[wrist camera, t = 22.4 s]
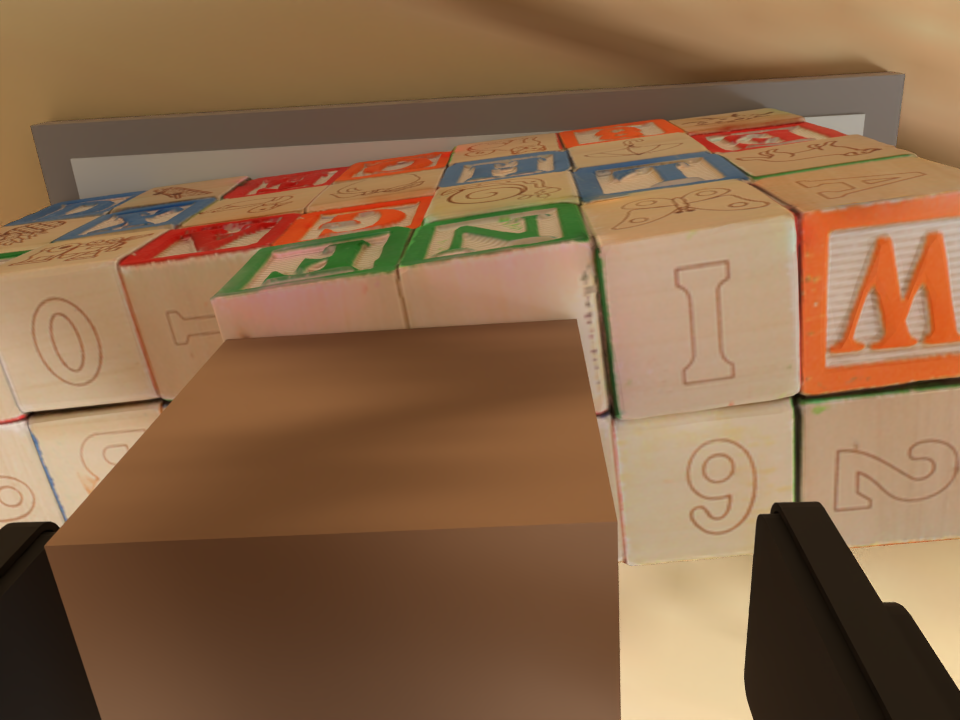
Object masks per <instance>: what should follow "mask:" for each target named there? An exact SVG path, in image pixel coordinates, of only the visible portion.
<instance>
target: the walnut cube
mask: <svg viewBox="0 0 960 720" xmlns="http://www.w3.org/2000/svg"><path fill="white" fill-rule="evenodd" d="M44 548H45V551H46V554H47V557H48V560H49V563H50V566H51V569H52V572H53V575H54V578H55V581H56V584H57V587H58V590H59V593H60V596H61V599H62V602H63V605H64V608H65V611H66V614H67V617H68V620H69V623H70V626H71V629H72V632H73V635H74V638H75V641H76V644H77V647H78V650H79V653H80V656H81V659H82V662H83V665H84V668H85V671H86V674H87V677H88V680H89V683H90V686H91V689H92V692H93V695H94V698H95V701H96V704H97V707H98V710H99V713H100V716H101V719H102V720H621V706H620V643H619V581H618V521H617V516H616V511H615V506H614V501H613V496H612V491H611V486H610V482H609V477H608V472H607V467H606V462H605V457H604V452H603V447H602V442H601V437H600V432H599V427H598V422H597V417H596V412H595V407H594V402H593V397H592V392H591V387H590V382H589V377H588V372H587V367H586V362H585V357H584V352H583V347H582V342H581V337H580V333H579V328H578V323H577V319H566V320H549V321H532V322H515V323H498V324H481V325H464V326H447V327H430V328H413V329H396V330H379V331H362V332H345V333H328V334H311V335H294V336H277V337H260V338H243V339H226V340H225V342H224V343H223V344H222V345H221V346H220V347H219V348H218V350H217V351H216V352H215V353H214V354H213V355H212V356H211V357H210V359H209V360H208V361H207V362H206V363H205V364H204V365H203V367H202V368H201V369H200V370H199V371H198V372H197V373H196V374H195V376H194V377H193V378H192V379H191V380H190V381H189V382H188V384H187V385H186V386H185V387H184V388H183V389H182V390H181V391H180V393H179V394H178V395H177V396H176V397H175V398H174V399H173V401H172V402H171V403H170V404H169V405H168V406H167V407H166V408H165V410H164V411H163V412H162V413H161V414H160V415H159V416H158V418H157V419H156V420H155V421H154V422H153V423H152V424H151V425H150V427H149V428H148V429H147V430H146V431H145V432H144V433H143V435H142V436H141V437H140V438H139V439H138V440H137V441H136V442H135V444H134V445H133V446H132V447H131V448H130V449H129V450H128V452H127V453H126V454H125V455H124V456H123V457H122V458H121V459H120V461H119V462H118V463H117V464H116V465H115V466H114V467H113V469H112V470H111V471H110V472H109V473H108V474H107V475H106V476H105V478H104V479H103V480H102V481H101V482H100V483H99V484H98V486H97V487H96V488H95V489H94V490H93V491H92V492H91V493H90V495H89V496H88V497H87V498H86V499H85V500H84V501H83V503H82V504H81V505H80V506H79V507H78V508H77V509H76V510H75V512H74V513H73V514H72V515H71V516H70V517H69V518H68V520H67V521H66V522H65V523H64V524H63V525H62V526H61V527H60V529H59V530H58V531H57V532H56V533H55V534H54V535H53V536H52V538H51V539H50V540H49V541H48V542H47V543H46V544H45V546H44Z"/></svg>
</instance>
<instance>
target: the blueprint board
mask: <svg viewBox="0 0 960 720" xmlns="http://www.w3.org/2000/svg"><path fill="white" fill-rule="evenodd" d="M904 80H905V74H901V73H895V72H877V73H860V74H843V75H826V76H810V77H793V78H776V79H759V80H742V81H725V82H708V83H692V84H675V85H658V86H641V87H624V88H607V89H590V90H574V91H557V92H540V93H523V94H506V95H489V96H472V97H456V98H439V99H422V100H405V101H388V102H371V103H354V104H338V105H321V106H304V107H287V108H270V109H253V110H236V111H220V112H203V113H186V114H169V115H152V116H135V117H118V118H102V119H85V120H68V121H51V122H45V123H40V124H36V125H32V126H31V130H32V134H33V138H34V142H35V145H36V149H37V153H38V157H39V161H40V165H41V169H42V172H43V176H44V180H45V184H46V188H47V192H48V195H49V199H50V203H51V205H54V204H57V203H60V202H64V201H71V200H79V199H86V198H92V197H100V196H107V195H114V194H122V193H129V192H137V191H147V190H150V189H152V188H156V187H163V186H170V185H178V184H185V183H192V182H200V181H207V180H215V179H223V178H230V177H238V176H249V177H250V178H251V179H253V180H254V179H258V178H263V177H271V176H278V175H285V174H294V173H300V172H307V171H314V170H321V169H330V168H339V167H349V166H351V165H353V164H355V163H359V162H367V161H375V160H383V159H390V158H397V157H404V156H414V155H419V154H426V153H432V152H446V151H450V150H452V149H453V148H454V147H455V146H458V145H462V144H469V143H477V142H484V141H492V140H499V139H506V138H514V137H521V136H529V135H539V134H549V133H559V132H564V131H571V130H579V129H586V128H594V127H601V126H609V125H616V124H624V123H631V122H639V121H646V120H654V119H664V120H666V121H670V120H677V119H685V118H693V117H701V116H709V115H717V114H725V113H732V112H740V111H748V110H755V109H763V108H772V109H776V110H780V111H784V112H789V113H792V114H795V115H799V116H802V117H804V118H805V120H806V122H808V123H812V124H815V125H818V126H822V127H825V128H829V129H833V130H836V131H839V132H841V133H844V134H846V135H855V134H858V135H861V136H864V137H868V138H871V139H874V140H877V141H878V142H883V143H885V144H888V145H893V146H895V148H896V142H897V134H898V127H899V119H900V111H901V104H902V96H903V88H904Z"/></svg>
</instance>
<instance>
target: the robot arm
mask: <svg viewBox="0 0 960 720" xmlns="http://www.w3.org/2000/svg"><path fill="white" fill-rule="evenodd" d="M59 529H60V527H59V526H58V525H57V524H56V523H54V522H51V521H44V522H13V523H8V524H6V525H5V526H3V527H2V528H1V529H0V720H102V719H101V716H100V713H99V710H98V707H97V704H96V701H95V698H94V695H93V692H92V689H91V686H90V683H89V680H88V677H87V674H86V671H85V668H84V665H83V662H82V659H81V656H80V653H79V650H78V647H77V644H76V641H75V638H74V635H73V632H72V629H71V626H70V623H69V620H68V617H67V614H66V611H65V608H64V605H63V602H62V599H61V596H60V593H59V590H58V587H57V584H56V581H55V578H54V575H53V572H52V569H51V566H50V563H49V560H48V557H47V554H46V551H45V548H44V546H45V544H46V543H47V542H48V541H49V540H50V539H51V538H52V536H53V535H54V534H55V533H56V532H57V531H58V530H59ZM744 682H745V691H746V696H747V701H748V704H749V707H750V710H751V713H752V716H753V720H960V691H959V689H958V688H957V686H956V684H955V683H954V681H953V680H952V678H951V677H950V675H949V674H948V672H947V671H946V669H945V667H944V666H943V664H942V663H941V661H940V660H939V658H938V657H937V655H936V654H935V652H934V650H933V649H932V647H931V646H930V644H929V643H928V641H927V640H926V638H925V637H924V635H923V633H922V632H921V630H920V629H919V627H918V626H917V624H916V623H915V621H914V620H913V618H912V616H911V615H910V614H909V612H908V611H907V610H906V609H905V608H904V607H903V606H902V605H900V604H898V603H896V602H887V603H882V601H881V600H880V598H879V596H878V595H877V593H876V591H875V590H874V588H873V587H872V585H871V583H870V582H869V580H868V578H867V577H866V575H865V573H864V572H863V570H862V569H861V567H860V565H859V564H858V562H857V560H856V559H855V557H854V556H853V554H852V552H851V551H850V549H849V547H848V546H847V544H846V542H845V541H844V539H843V538H842V536H841V534H840V533H839V531H838V529H837V528H836V526H835V525H834V523H833V521H832V520H831V518H830V516H829V515H828V513H827V511H826V510H825V508H824V507H823V505H822V504H821V503H820V502H817V501H812V502H775V503H774V504H773V505H772V507H771V510H770V514H759V515H758V517H757V520H756V529H755V542H754V555H753V567H752V580H751V593H750V605H749V618H748V631H747V644H746V656H745V669H744Z"/></svg>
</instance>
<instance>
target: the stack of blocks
mask: <svg viewBox="0 0 960 720" xmlns="http://www.w3.org/2000/svg"><path fill="white" fill-rule="evenodd" d="M566 319H577V323H578V328H579V333H580V337H581V342H582V347H583V352H584V357H585V362H586V367H587V372H588V377H589V382H590V387H591V392H592V397H593V402H594V407H595V412H596V417H597V422H598V427H599V432H600V437H601V442H602V447H603V452H604V457H605V462H606V467H607V472H608V477H609V482H610V486H611V491H612V496H613V501H614V506H615V511H616V516H617V521H618V563H619V562H623V563H626V564H628V565H630V566H635V565H649V564H660V563H669V562H679V561H690V560H702V559H713V558H723V557H733V556H742V555H751V554H754V542H755V529H756V520H757V517H758V515H759V514H770V510H771V507H772V505H773V504H774V503H775V502H812V501H817V502H820V503H821V504H822V505H823V507H824V508H825V510H826V511H827V513H828V515H829V516H830V518H831V520H832V521H833V523H834V525H835V526H836V528H837V529H838V531H839V533H840V534H841V536H842V538H843V539H844V541H845V542H846V544H847V546H848V547H849V548H859V547H870V546H881V545H893V544H904V543H916V542H928V541H940V540H951V539H960V169H959V168H956V167H952V166H948V165H945V164H941V163H937V162H934V161H930V160H927V159H923V158H919V157H918V156H917V155H916V154H915V153H912V152H910V151H907V150H903V149H899V148H895V146H893V145H888V144H885V143H883V142H878V141H877V140H874V139H871V138H868V137H864V136H861V135H858V134H855V135H846V134H844V133H841V132H839V131H836V130H833V129H829V128H825V127H822V126H818V125H815V124H812V123H808V122H806V120H805V118H804V117H802V116H799V115H795V114H792V113H789V112H784V111H780V110H776V109H772V108H763V109H755V110H748V111H740V112H732V113H725V114H717V115H709V116H701V117H693V118H685V119H677V120H670V121H666V120H664V119H654V120H646V121H639V122H631V123H624V124H616V125H609V126H601V127H594V128H586V129H579V130H571V131H564V132H559V133H549V134H539V135H529V136H521V137H514V138H506V139H499V140H492V141H484V142H477V143H469V144H462V145H458V146H455V147H454V148H453V149H452V150H450V151H446V152H432V153H426V154H419V155H414V156H404V157H397V158H390V159H383V160H375V161H367V162H359V163H355V164H353V165H351V166H349V167H339V168H330V169H321V170H314V171H307V172H300V173H294V174H285V175H278V176H271V177H263V178H258V179H254V180H253V179H251V178H250V177H249V176H238V177H230V178H223V179H215V180H207V181H200V182H192V183H185V184H178V185H170V186H163V187H156V188H152V189H150V190H147V191H137V192H129V193H122V194H114V195H107V196H100V197H92V198H86V199H79V200H71V201H64V202H60V203H57V204H54V205H51V206H49V207H47V208H44V209H42V210H40V211H38V212H36V213H33V214H30V215H28V216H25V217H23V218H22V219H19V220H16V221H14V222H11V223H9V224H7V225H5V226H3V227H0V529H1V528H2V527H3V526H5V525H6V524H8V523H13V522H44V521H51V522H54V523H56V524H57V525H58V526H59V527H61V526H62V525H63V524H64V523H65V522H66V521H67V520H68V518H69V517H70V516H71V515H72V514H73V513H74V512H75V510H76V509H77V508H78V507H79V506H80V505H81V504H82V503H83V501H84V500H85V499H86V498H87V497H88V496H89V495H90V493H91V492H92V491H93V490H94V489H95V488H96V487H97V486H98V484H99V483H100V482H101V481H102V480H103V479H104V478H105V476H106V475H107V474H108V473H109V472H110V471H111V470H112V469H113V467H114V466H115V465H116V464H117V463H118V462H119V461H120V459H121V458H122V457H123V456H124V455H125V454H126V453H127V452H128V450H129V449H130V448H131V447H132V446H133V445H134V444H135V442H136V441H137V440H138V439H139V438H140V437H141V436H142V435H143V433H144V432H145V431H146V430H147V429H148V428H149V427H150V425H151V424H152V423H153V422H154V421H155V420H156V419H157V418H158V416H159V415H160V414H161V413H162V412H163V411H164V410H165V408H166V407H167V406H168V405H169V404H170V403H171V402H172V401H173V399H174V398H175V397H176V396H177V395H178V394H179V393H180V391H181V390H182V389H183V388H184V387H185V386H186V385H187V384H188V382H189V381H190V380H191V379H192V378H193V377H194V376H195V374H196V373H197V372H198V371H199V370H200V369H201V368H202V367H203V365H204V364H205V363H206V362H207V361H208V360H209V359H210V357H211V356H212V355H213V354H214V353H215V352H216V351H217V350H218V348H219V347H220V346H221V345H222V344H223V343H224V342H225V340H226V339H243V338H260V337H277V336H294V335H311V334H328V333H345V332H362V331H379V330H396V329H413V328H430V327H447V326H464V325H481V324H498V323H515V322H532V321H549V320H566Z"/></svg>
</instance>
